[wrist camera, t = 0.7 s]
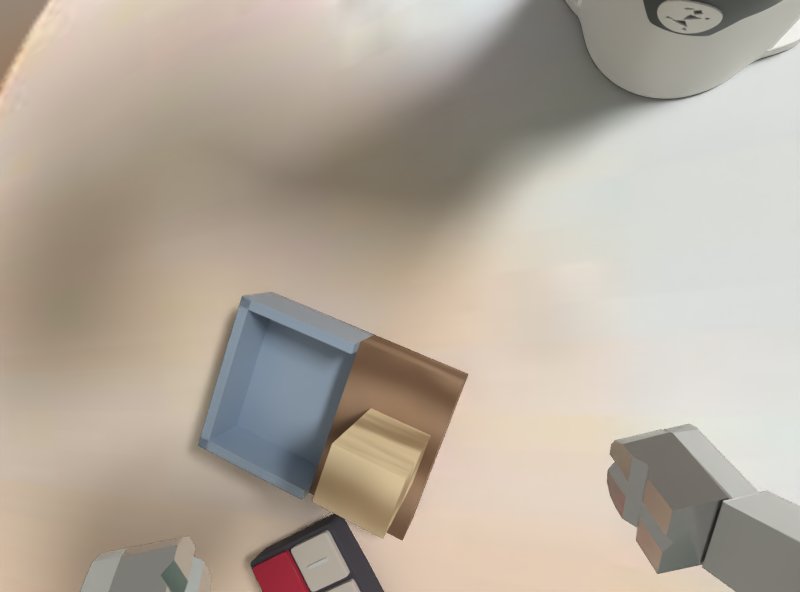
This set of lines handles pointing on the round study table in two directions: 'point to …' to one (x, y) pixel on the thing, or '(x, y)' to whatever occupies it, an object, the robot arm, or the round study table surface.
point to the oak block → (371, 471)
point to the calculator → (316, 562)
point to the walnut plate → (398, 406)
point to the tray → (279, 389)
